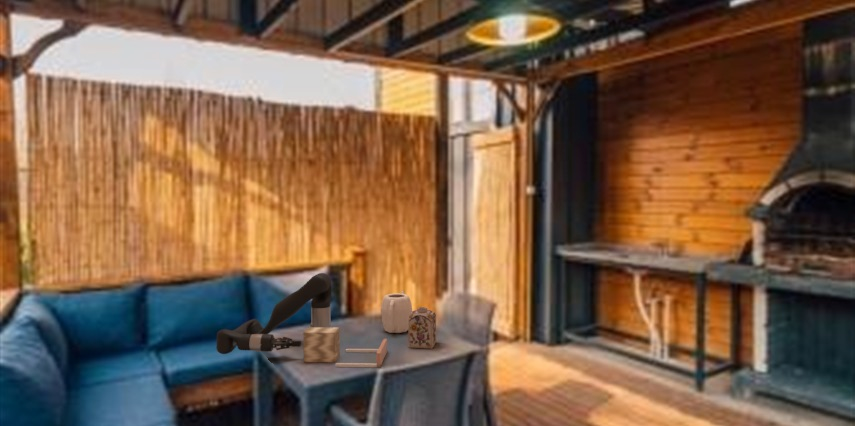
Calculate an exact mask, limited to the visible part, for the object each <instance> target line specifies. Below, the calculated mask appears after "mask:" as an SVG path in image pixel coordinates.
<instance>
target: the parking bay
mask: <svg viewBox="0 0 855 426" xmlns="http://www.w3.org/2000/svg"><path fill="white" fill-rule="evenodd" d="M345 353H372V354H373V353H376V357H375V358H376V363H375V362H374V363H369V362H365V363H361V362H348V363H347V362H335V368H381V366H382V364H383V362H384V360H385V358H386V355H387V353H388V338H383V339H382V342H381V344H380V346H379V347H378V348H346V349H345Z"/></svg>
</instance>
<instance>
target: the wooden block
mask: <svg viewBox="0 0 855 426" xmlns="http://www.w3.org/2000/svg"><path fill="white" fill-rule="evenodd" d="M340 336H341V335H340V326H339V327H338V326H337V327H334V326H333V327H332V326H331V327H310V326H309V327H307V328H306V329H305V330H304V331H303V332H302V337H303V362H304V363H307V362H309V363H310V362H311V363H318V362H319V363H337V361H338V359H339V357H340V356H341V349H340V348H341V343H340V339H341V338H340Z"/></svg>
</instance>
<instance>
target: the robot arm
mask: <svg viewBox="0 0 855 426" xmlns="http://www.w3.org/2000/svg"><path fill="white" fill-rule="evenodd" d="M331 300H332V280H331V278H330V276H329V274H327V273H324V272H319V273H317V274H315V275H313V276H312V277H311V278H310V279H308V281H306V283H305V284H303V285H302V286H301V287H300V288H299V289H298V290H295V291H294V292H292V293H291V294H289V295H287V296H286V297H285V298H283V299H281V300H280V301H279V302H277V303H276V304H275V305H274V307H273V309H272V312H271V315H270V317H269V320H268V322H267V324H266V326H265V327H263V326H262V324H261V323H260V321H259V320H258V319H256V318H252V319H249V320H248V321H245V322H244V323H243V324H241V325H240V326H238V327H237V328H235V329H231V330H230V329H227V328H223V329H220V330H219V331H218V332H217V334H216V348H215V349H216V352H218V353H219V354H221V355H226V354H231V352H233V351H235V349H236V347H237V349H238V350H239V351H253V352H270V353H271V352H273V350H274V349H276V351H278V350H286V349H290V348H292V347H294V348H295V347H296V348H298V347H299V348H300V347H301V346H302V341H301V340H293V338H290V337H286V336H282V337H277V338H275V335H274V334H270V333H272V331H274V330H275V329H276V328H277V327H278V326H280V325H281V324H283V323H284V322H286V321H287V320H289V319H290V318H291V317H293V316H294V315H295V314H297V313H298V312H299V311H300V310H302V308H304V306H305V304H307V303H308V302H310V301H311V302H310V307H311V308H310V310H311V311H310V312H311V313H310V314H311V322H310V326H309V327H332V325H331V324H332V323H331V320H332V319H331Z"/></svg>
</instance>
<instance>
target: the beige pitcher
mask: <svg viewBox="0 0 855 426" xmlns="http://www.w3.org/2000/svg"><path fill="white" fill-rule="evenodd" d="M412 311H413V307H412V301H411V298H410V295H408V294H406V293H405V290H401V293H399V292H398V293H396V292H395V293H388V294H386V295H384V296H383V298H382V302H381V307H380V313H381V320H382V322H381V323H382V326H383V329H384V331H385V332H387V333H390V334H391V333H392V334H401V333H406V332H407V331H408V325H409V320H408V319H409V316H410V313H411V312H412Z"/></svg>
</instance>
